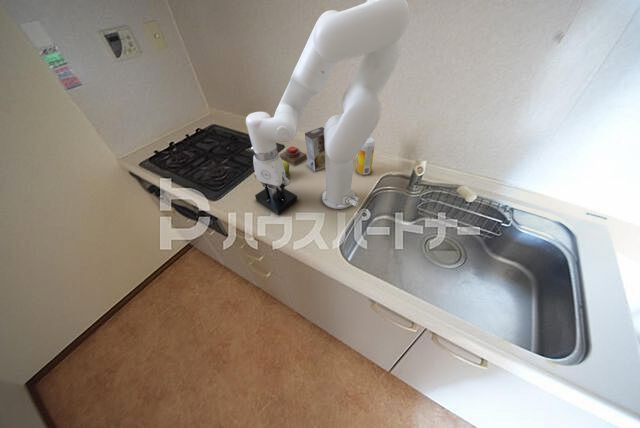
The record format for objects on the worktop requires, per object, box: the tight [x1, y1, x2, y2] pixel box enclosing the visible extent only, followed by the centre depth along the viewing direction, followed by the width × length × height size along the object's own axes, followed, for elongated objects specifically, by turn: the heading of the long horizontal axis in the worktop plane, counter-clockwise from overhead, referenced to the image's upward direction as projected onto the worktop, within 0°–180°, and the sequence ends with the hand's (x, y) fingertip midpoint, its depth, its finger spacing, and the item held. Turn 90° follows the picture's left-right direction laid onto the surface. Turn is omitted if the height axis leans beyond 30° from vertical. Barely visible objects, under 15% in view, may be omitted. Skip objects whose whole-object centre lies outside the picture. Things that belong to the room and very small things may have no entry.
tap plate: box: [254, 187, 298, 216], centre depth 92 cm, size 13×10×3 cm
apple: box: [281, 159, 290, 177], centre depth 102 cm, size 8×9×8 cm
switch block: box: [279, 147, 307, 166], centre depth 113 cm, size 10×8×4 cm
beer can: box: [356, 136, 376, 176], centre depth 99 cm, size 6×6×15 cm
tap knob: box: [267, 184, 279, 199], centre depth 89 cm, size 4×4×5 cm
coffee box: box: [304, 126, 325, 173], centre depth 104 cm, size 9×6×16 cm
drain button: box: [287, 146, 297, 153], centre depth 111 cm, size 4×4×2 cm
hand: (275, 194), depth 90 cm, fingers closed on tap knob, 4 cm apart
